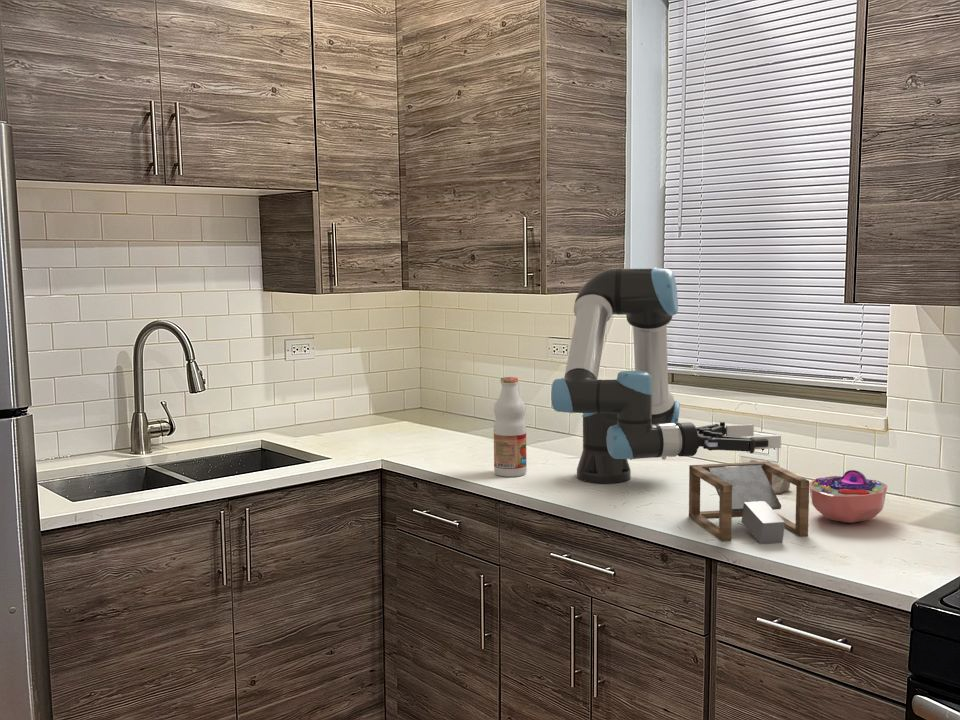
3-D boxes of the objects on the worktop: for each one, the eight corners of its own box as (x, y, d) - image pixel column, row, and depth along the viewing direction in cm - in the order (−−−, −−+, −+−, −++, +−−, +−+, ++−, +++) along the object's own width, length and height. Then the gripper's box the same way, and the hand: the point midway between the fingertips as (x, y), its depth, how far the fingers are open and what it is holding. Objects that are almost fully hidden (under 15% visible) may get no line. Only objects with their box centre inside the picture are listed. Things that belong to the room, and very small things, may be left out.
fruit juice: (490, 471, 274) (489, 376, 270) (522, 469, 275) (521, 375, 272) (498, 478, 264) (497, 380, 261) (530, 476, 266) (529, 379, 263)
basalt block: (743, 502, 210) (763, 523, 200) (764, 501, 211) (785, 521, 201) (741, 522, 211) (760, 543, 202) (762, 520, 212) (782, 542, 203)
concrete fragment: (770, 496, 242) (771, 470, 241) (734, 482, 257) (734, 457, 256) (796, 493, 245) (796, 467, 244) (758, 479, 259) (759, 455, 259)
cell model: (790, 519, 220) (791, 472, 219) (837, 505, 232) (839, 460, 231) (856, 536, 206) (858, 486, 205) (903, 519, 218) (905, 472, 217)
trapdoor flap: (704, 469, 221) (705, 466, 220) (761, 466, 223) (762, 463, 222) (723, 512, 210) (724, 509, 210) (783, 509, 212) (784, 506, 212)
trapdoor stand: (688, 516, 224) (689, 465, 222) (767, 511, 227) (768, 461, 225) (722, 541, 204) (723, 485, 203) (808, 535, 207) (809, 480, 206)
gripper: (657, 445, 221) (742, 441, 224) (697, 468, 196) (792, 464, 199) (657, 413, 220) (742, 410, 223) (697, 433, 195) (792, 429, 198)
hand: (766, 435), depth 211 cm, fingers open, 13 cm apart
